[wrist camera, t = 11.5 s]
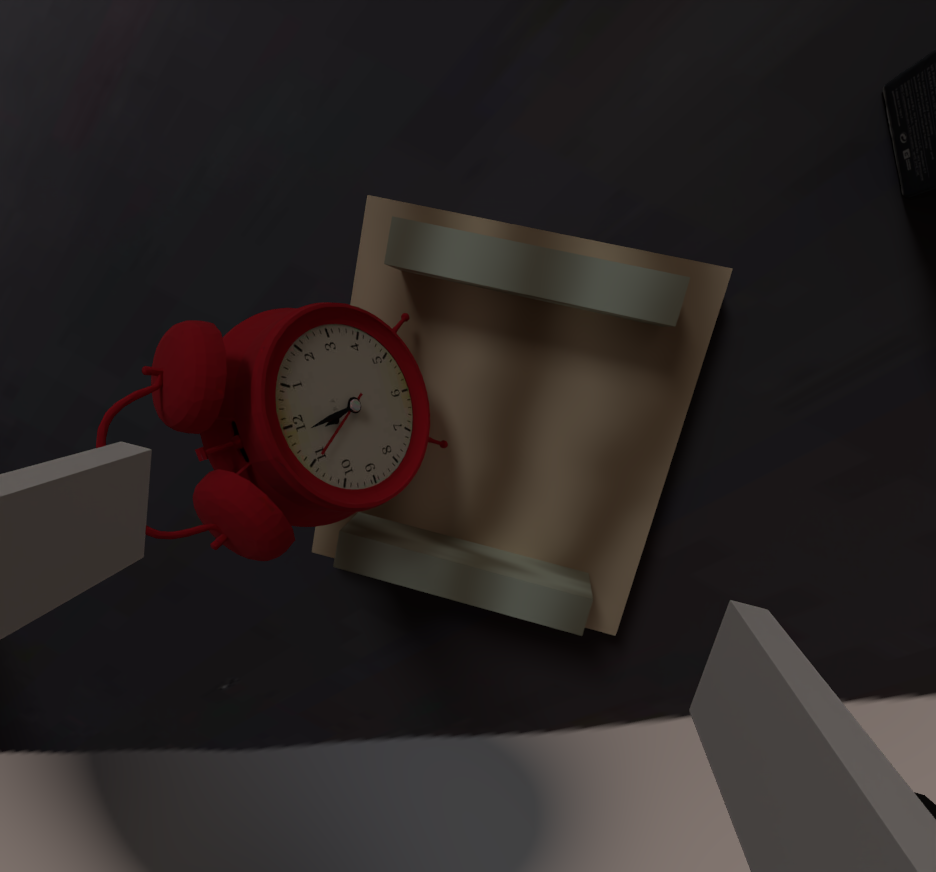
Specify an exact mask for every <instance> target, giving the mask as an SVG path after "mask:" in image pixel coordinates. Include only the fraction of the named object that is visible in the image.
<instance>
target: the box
mask: <svg viewBox="0 0 936 872" xmlns="http://www.w3.org/2000/svg"><path fill="white" fill-rule="evenodd" d="M883 93H884V99H885V103H886V110H887V117H888V123H889V126H890V133H891V137H892V142H893V149H894V153H895V158H896V163H897V168H898V173H899V178H900V184H901V190H902V195H904V196H905V197H907V198H910V197H913V196H916V195H919V194H922V193H925V192H928V191H931V190H933V189H936V49H935V50H934V51H932V52H931V53H930V54H928V55H927V56H925V57H924V58H923V59H921V60H920V61H918V62H917V63H915V64H914V65H912V66H911V67H909V68H908V69H907V70H905V71H904V72H902V73H901V74H899V75H898V76H897V77H895V78H894V79H892V80H891V81H889V82H888V83H887V84H885V85H884V87H883Z"/></svg>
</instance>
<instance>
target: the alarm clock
mask: <svg viewBox="0 0 936 872" xmlns="http://www.w3.org/2000/svg"><path fill="white" fill-rule="evenodd" d="M409 319H410V317H409V314H408V313H403V314H402V315H401V320H400V321H399V322H398V323H397V324H396V326H394V327H393V328H391V327H390V326H389V325H387V324H386V323H385V322H384V321H382V320H381V319H380V318H378V317H377V316H375V315H374V314H372V313H370V312H368V311H366V310H364V309H361V308H359V307H356V306H352V305H348V304H343V303H315V304H310V305H306V306H303V307H300V308H298V309H296V308H281V309H273V310H269V311H265V312H262V313H259V314H256V315H254V316H252V317H250V318H248V319H246V320H244V321H243V322H241V323H239V324H238V325H236V326H235V327H234V328H233V329H231V330H230V331H229V332H228V333H227V334H226V335H225V336H224V337H223V338H222V335H221V332H220V331H219V330H218V328H217V327H216V326H215V325H214V324H213V323H208V322H204V321H184V322H181V323H178V324H176V325H173V326H172V327H171V328H170V329H169V330H168V331H167V332H166V333H165V335H164V336H163V338H162V339H161V340H160V342H159V344H158V346H157V349H156V352H155V356H154V360H153V364H152V367H147V366H144V367H143V368H142V373H143V374H144V375H151V386H149V387H146V388H143V389H140V390H137V391H135V392H133V393H131V394H130V395H128V396H126V397H125V398H123V399H121V400H120V401H118V402H116V403H115V404H114V405H113V406H112V407H111V408H110V409H109V410H108V411H107V412H106V413H105V415H104V417H103V419H102V421H101V423H100V425H99V427H98V431H97V443H96V448H100V447H103V446H106V435H107V431H108V427H109V425H110V423H111V421H112V419H113V417H114V416H115V415H116V414H117V413H118V412H119V411H120V410H121V409H122V408H123V407H125V406H126V405H128V404H130V403H131V402H133V401H135V400H137V399H139V398H141V397H143V396H146V395H148V394H150V393H152V396H153V402H154V406H155V409H156V411H157V414H158V416H159V418H160V419H161V420H162V421H163V422H164V423H165V424H166V425H167V426H168V427H170V428H172V429H173V430H176V431H180V432H185V433H194V434H199V433H200V435H201V439H202V442H203V446H204V447H202V448H199V449H196V450H195V451H196V453H197V456H198V459H199V461H202V460H205V459H209V461H210V463H211V465H212V467H213V469H214V471H212V472H209V473H208V474H207V475H206V476H205V477H204V478H203V479H202V480H201V481H200V482H199V484H198V485H197V486H196V488H195V491H194V494H193V502H194V508H195V510H196V513H197V515H198V517H199V518H200V520H201V522H202V523H203V524H204V525H201V526H197V527H193V528H190V529H186V530H181V531H175V532H165V531H158V530H155V529H152V528H150V527H148V526H147V525H146V531H145V534H146V535H148V536H151V537H154V538H158V539H176V538H182V537H187V536H191V535H194V534H197V533H201V532H204V531H207V530H209V531H210V533H211V534H212V535H213V536H214V537H215V538H216V540H215V541H214V542H212V543H211V547H212V549H214V550H217V549H218V548H219V547H220V546H221V545H222V544H223V545H225V546H226V547H227V548H228V549H230V550H232V551H233V552H235V553H237V554H238V555H240V556H243V557H245V558H248V559H252V560H259V561H268V560H271V559H274V558H277V557H279V556H280V555H282V554H283V553H284V552H286V551H287V549H288V548H289V547H290V546H291V544H292V543H293V542H294V541H295V538H294V533H293V529H292V527H291V526H299V527H314V526H324V525H328V524H332V523H335V522H339V521H341V520H343V519H345V518H348V517H349V516H351V515H353V514H354V513H356V512H359V511H365V510H369V509H372V508H375V507H377V506H380V505H382V504H384V503H386V502H387V501H389V500H390V499H392V498H393V497H395V496H397V495H398V494H399V493H400V492H401V491H403V490H404V489H405V488H406V486H407V485H408V484H409V483H410V482H411V481H412V479H413V478H414V476H415V475H416V473H417V471H418V470H419V468H420V466H421V463H422V461H423V459H424V456H425V453H426V449H427V445H428V442H429V443H434V444H437V445H440V447H441V448H446V447H447V446H448V443H447V441H445V440H442V441H438V440H435V439H432V438H431V437H429V433H430V407H429V400H428V394H427V390H426V386H425V383H424V379H423V376H422V374H421V371H420V369H419V366H418V364H417V362H416V360H415V359H414V357H413V355H412V353H411V352H410V350H409V348H408V347H407V346H406V344H405V343H404V342H403V340H402V339H401V338H400V337H399V335H398V334H397V331H398V329H399V328H400V327H401V325H402V324H403V323H404V322H407V321H408V320H409Z"/></svg>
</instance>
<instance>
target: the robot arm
mask: <svg viewBox="0 0 936 872" xmlns="http://www.w3.org/2000/svg"><path fill="white" fill-rule="evenodd" d="M150 463H151V449H148V448H144V447H140V446H136V445H132V444H128V443H125V442H118V443H114V444H111V445H107V446H103V447H100V448H96V449H92V450H89V451H85V452H81V453H78V454H74V455H70V456H66V457H63V458H59V459H55V460H52V461H48V462H44V463H41V464H37V465H33V466H29V467H26V468H22V469H18V470H15V471H11V472H7V473H4V474H0V639H2V638H4V637H6V636H7V635H9V634H11V633H13V632H14V631H16V630H18V629H20V628H21V627H23V626H25V625H26V624H28V623H30V622H32V621H33V620H35V619H37V618H39V617H40V616H42V615H44V614H46V613H47V612H49V611H51V610H53V609H54V608H56V607H58V606H60V605H61V604H63V603H65V602H66V601H68V600H70V599H72V598H73V597H75V596H77V595H79V594H80V593H82V592H84V591H86V590H87V589H89V588H91V587H93V586H94V585H96V584H98V583H99V582H101V581H103V580H105V579H106V578H108V577H110V576H112V575H113V574H115V573H117V572H119V571H120V570H122V569H124V568H126V567H127V566H129V565H131V564H132V563H134V562H136V561H138V560H139V559H141V558H143V557H144V545H145V531H146V518H147V504H148V490H149V477H150ZM689 711H690V714H691V716H692V719H693V722H694V724H695V727H696V729H697V732H698V735H699V737H700V740H701V742H702V745H703V748H704V750H705V753H706V755H707V758H708V760H709V763H710V766H711V768H712V771H713V774H714V776H715V779H716V782H717V784H718V787H719V789H720V792H721V795H722V797H723V800H724V802H725V805H726V808H727V810H728V813H729V815H730V818H731V820H732V823H733V826H734V828H735V831H736V834H737V836H738V839H739V841H740V844H741V847H742V849H743V851H744V854H745V857H746V859H747V862H748V865H749V867H750V870H751V872H936V805H935V804H934V803H933V802H932V801H930V800H929V799H928V798H927V797H926V796H925V795H922V794H918V793H915V792H913V791H912V790H911V788H910V787H909V786H908V785H907V783H906V782H905V781H904V779H903V778H902V777H901V776H900V774H899V773H898V772H897V771H896V769H895V768H894V767H893V766H892V764H891V763H890V762H889V761H888V760H887V758H886V757H885V756H884V754H883V753H882V752H881V751H880V749H879V748H878V747H877V746H876V744H875V743H874V742H873V741H872V739H871V738H870V737H869V736H868V734H867V733H866V732H865V731H864V730H863V728H862V727H861V726H860V725H859V723H858V722H857V721H856V719H855V718H854V717H853V716H852V714H851V713H850V712H849V711H848V709H847V708H846V707H845V706H844V704H843V703H842V702H841V701H840V699H839V698H838V697H837V696H836V694H835V693H834V692H833V691H832V689H831V688H830V687H829V686H828V684H827V683H826V682H825V681H824V679H823V678H822V677H821V676H820V674H819V673H818V672H817V671H816V669H815V668H814V667H813V666H812V664H811V663H810V662H809V661H808V659H807V658H806V657H805V656H804V654H803V653H802V652H801V651H800V649H799V648H798V647H797V646H796V644H795V643H794V642H793V641H792V639H791V638H790V637H789V636H788V634H787V633H786V632H785V631H784V629H783V628H782V627H781V626H780V624H779V623H778V622H777V621H776V619H775V618H774V617H773V616H772V614H771V613H770V612H769V611H768V610H767V609H763V608H759V607H755V606H751V605H747V604H744V603H740V602H736V601H732V600H730V602H729V604H728V607H727V610H726V612H725V615H724V618H723V621H722V623H721V626H720V629H719V631H718V634H717V637H716V639H715V642H714V645H713V647H712V650H711V653H710V656H709V658H708V661H707V664H706V666H705V669H704V672H703V674H702V677H701V680H700V683H699V685H698V688H697V691H696V693H695V696H694V699H693V701H692V704H691V707H690V709H689Z"/></svg>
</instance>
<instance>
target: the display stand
mask: <svg viewBox="0 0 936 872" xmlns="http://www.w3.org/2000/svg"><path fill="white" fill-rule="evenodd" d="M732 270H733V269H731V268H726V267H721V266H717V265H712V264H707V263H702V262H697V261H692V260H687V259H682V258H677V257H672V256H667V255H662V254H657V253H652V252H647V251H642V250H637V249H632V248H627V247H622V246H617V245H612V244H608V243H603V242H598V241H593V240H588V239H583V238H578V237H573V236H568V235H563V234H558V233H553V232H548V231H543V230H538V229H533V228H528V227H523V226H518V225H513V224H508V223H503V222H498V221H494V220H489V219H484V218H479V217H474V216H469V215H464V214H459V213H454V212H449V211H444V210H439V209H434V208H429V207H424V206H419V205H414V204H409V203H404V202H399V201H394V200H389V199H385V198H380V197H375V196H370V195H367V201H366V208H365V214H364V221H363V227H362V234H361V240H360V246H359V253H358V259H357V266H356V272H355V278H354V285H353V291H352V298H351V304H350V305H352V306H356V307H359V308H361V309H364V310H366V311H368V312H370V313H372V314H374V315H375V316H377V317H378V318H380V319H381V320H382V321H384V322H385V323H386V324H387V325H389V326H390V327H391V328H393V327H394V326H396V324H397V323H398V322H399V321H400V320H401V315H402V314H403V313H408V314H409V317H410V319H409V320H408V321H407V322H404V323H403V324H402V325H401V327H400V328H399V329H398V331H397V334H398V335H399V337H400V338H401V339H402V340H403V342H404V343H405V344H406V346H407V347H408V348H409V350H410V352H411V353H412V355H413V357H414V359H415V360H416V362H417V364H418V366H419V369H420V371H421V374H422V376H423V379H424V383H425V386H426V390H427V394H428V400H429V407H430V433H429V437H431V438H432V439H435V440H438V441H442V440H445V441H447V443H448V446H447V447H446V448H441V447H440V445H437V444H434V443H429V442H428V445H427V449H426V453H425V456H424V459H423V461H422V463H421V466H420V468H419V470H418V471H417V473H416V475H415V476H414V478H413V479H412V481H411V482H410V483H409V484H408V485H407V486H406V488H405V489H404V490H403V491H401V492H400V493H399V494H398V495H397V496H395V497H393V498H392V499H390V500H389V501H387V502H386V503H384V504H382V505H380V506H377V507H375V508H372V509H369V510H365V511H359V512H356V513H354V514H353V515H351V516H349V517H348V518H345V519H343V520H341V521H339V522H335V523H332V524H328V525H324V526H316V528H315V535H314V541H313V548H312V552H314V553H317V554H321V555H325V556H328V557H332V558H335V559H334V565H333V567H336V568H339V569H343V570H347V571H350V572H354V573H357V574H361V575H365V576H368V577H372V578H375V579H379V580H383V581H386V582H390V583H393V584H397V585H401V586H404V587H408V588H411V589H415V590H419V591H422V592H426V593H429V594H433V595H436V596H440V597H444V598H447V599H451V600H454V601H458V602H462V603H465V604H469V605H472V606H476V607H480V608H483V609H487V610H490V611H494V612H498V613H501V614H505V615H508V616H512V617H516V618H519V619H523V620H526V621H530V622H534V623H537V624H541V625H544V626H548V627H552V628H555V629H559V630H562V631H566V632H570V633H573V634H577V635H580V636H582V635H583V631H584V628H589V629H592V630H596V631H600V632H603V633H607V634H611V635H614V636H616V633H617V630H618V627H619V623H620V620H621V617H622V614H623V611H624V608H625V605H626V602H627V598H628V595H629V592H630V589H631V586H632V583H633V580H634V576H635V573H636V570H637V567H638V564H639V561H640V558H641V555H642V551H643V548H644V545H645V542H646V539H647V536H648V533H649V529H650V526H651V523H652V520H653V517H654V514H655V511H656V508H657V504H658V501H659V498H660V495H661V492H662V489H663V486H664V483H665V479H666V476H667V473H668V470H669V467H670V464H671V461H672V457H673V454H674V451H675V448H676V445H677V442H678V439H679V436H680V432H681V429H682V426H683V423H684V420H685V417H686V414H687V410H688V407H689V404H690V401H691V398H692V395H693V392H694V389H695V385H696V382H697V379H698V376H699V373H700V370H701V367H702V363H703V360H704V357H705V354H706V351H707V348H708V345H709V342H710V338H711V335H712V332H713V329H714V326H715V323H716V320H717V317H718V313H719V310H720V307H721V304H722V301H723V298H724V295H725V291H726V288H727V285H728V282H729V279H730V276H731V273H732Z"/></svg>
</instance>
